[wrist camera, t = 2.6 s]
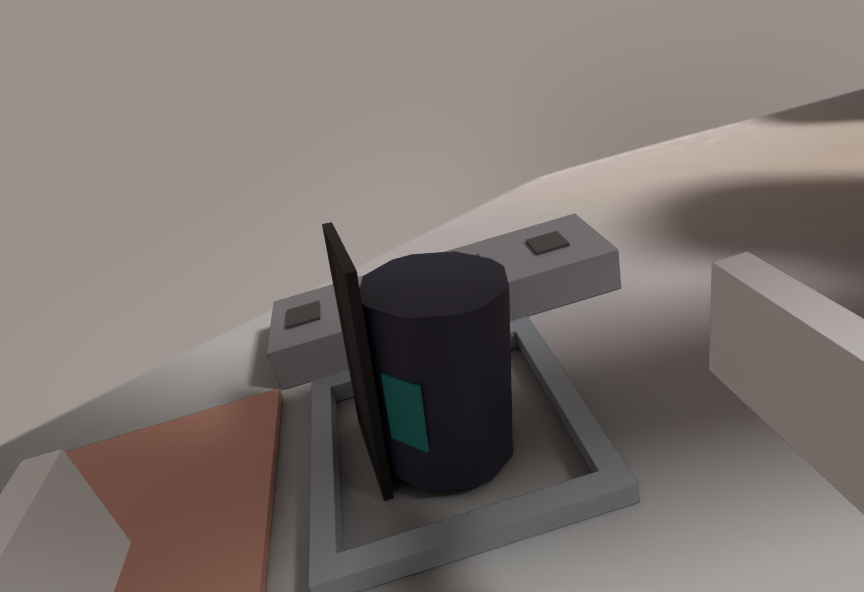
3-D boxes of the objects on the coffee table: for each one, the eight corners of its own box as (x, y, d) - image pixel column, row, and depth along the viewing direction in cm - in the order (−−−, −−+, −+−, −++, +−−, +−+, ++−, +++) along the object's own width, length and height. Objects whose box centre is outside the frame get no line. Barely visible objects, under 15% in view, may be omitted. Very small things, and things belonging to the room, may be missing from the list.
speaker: (337, 516, 23) (271, 287, 18) (359, 421, 28) (313, 223, 23) (527, 506, 22) (511, 264, 17) (514, 410, 27) (499, 203, 22)
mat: (282, 395, 31) (279, 388, 31) (260, 650, 19) (254, 642, 19) (30, 470, 30) (24, 464, 30) (-161, 786, 18) (-173, 779, 18)
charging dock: (578, 247, 38) (574, 210, 36) (793, 452, 21) (800, 396, 19) (287, 333, 37) (272, 299, 35) (263, 622, 20) (232, 575, 18)
